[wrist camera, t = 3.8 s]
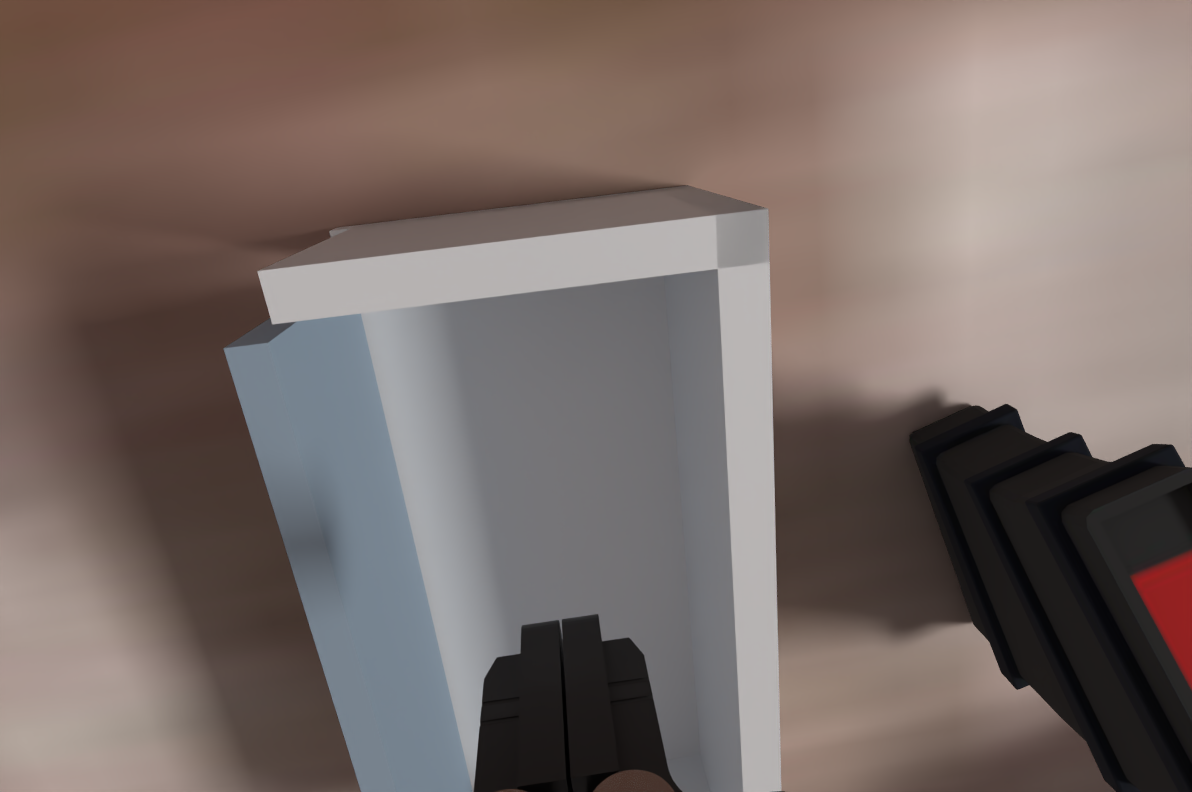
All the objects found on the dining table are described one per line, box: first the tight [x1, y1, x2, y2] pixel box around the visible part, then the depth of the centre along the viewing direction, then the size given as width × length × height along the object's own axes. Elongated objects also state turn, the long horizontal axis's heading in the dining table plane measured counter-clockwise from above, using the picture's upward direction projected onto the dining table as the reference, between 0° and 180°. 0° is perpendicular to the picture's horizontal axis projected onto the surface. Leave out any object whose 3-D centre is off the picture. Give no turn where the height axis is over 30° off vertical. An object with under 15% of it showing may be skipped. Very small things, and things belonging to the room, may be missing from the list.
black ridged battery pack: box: [910, 404, 1192, 792], centre depth 24 cm, size 4×13×15 cm, turn 26°
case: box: [257, 185, 781, 792], centre depth 24 cm, size 12×26×9 cm, turn 6°
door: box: [223, 313, 472, 792], centre depth 23 cm, size 2×23×8 cm, turn 7°
